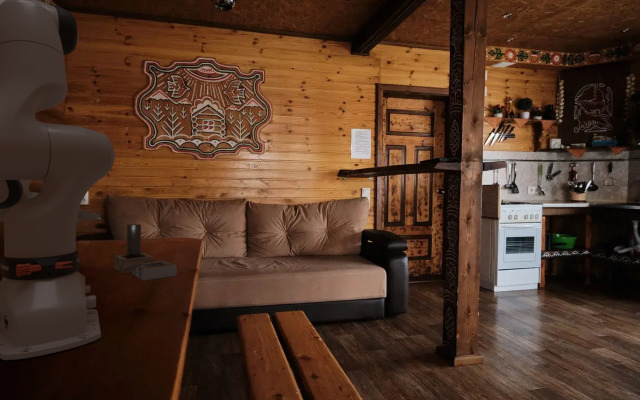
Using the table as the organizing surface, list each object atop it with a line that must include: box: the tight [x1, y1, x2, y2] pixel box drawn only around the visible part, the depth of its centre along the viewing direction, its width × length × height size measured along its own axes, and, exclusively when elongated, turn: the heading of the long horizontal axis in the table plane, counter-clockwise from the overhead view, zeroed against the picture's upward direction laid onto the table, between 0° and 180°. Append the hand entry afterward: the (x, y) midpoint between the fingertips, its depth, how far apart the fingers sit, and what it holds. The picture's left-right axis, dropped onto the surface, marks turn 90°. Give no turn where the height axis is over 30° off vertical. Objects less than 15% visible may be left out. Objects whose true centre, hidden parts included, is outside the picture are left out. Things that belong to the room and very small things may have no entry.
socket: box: [131, 259, 178, 282], centre depth 115 cm, size 10×10×3 cm
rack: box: [113, 252, 155, 274], centre depth 122 cm, size 9×9×4 cm
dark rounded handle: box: [126, 223, 142, 259], centre depth 122 cm, size 4×4×14 cm
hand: (100, 217), depth 112 cm, fingers open, 8 cm apart
